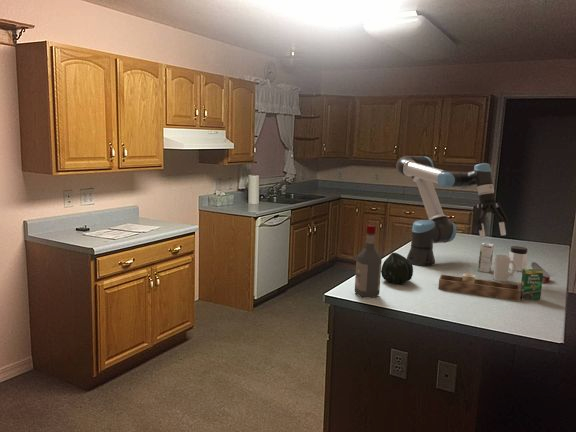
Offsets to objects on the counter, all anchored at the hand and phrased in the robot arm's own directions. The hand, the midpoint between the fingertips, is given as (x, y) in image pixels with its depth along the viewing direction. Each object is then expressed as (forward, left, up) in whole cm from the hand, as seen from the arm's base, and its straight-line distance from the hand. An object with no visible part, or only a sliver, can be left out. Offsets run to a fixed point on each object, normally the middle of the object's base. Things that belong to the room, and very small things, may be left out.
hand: (493, 236), depth 238 cm
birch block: (-9, -29, -19) cm, 36 cm away
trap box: (-4, -29, -21) cm, 36 cm away
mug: (+7, -2, -21) cm, 22 cm away
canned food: (+23, +8, -21) cm, 32 cm away
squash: (-40, -32, -21) cm, 56 cm away
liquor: (-48, -58, -21) cm, 79 cm away
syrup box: (-2, +13, -21) cm, 25 cm away
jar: (+14, +26, -21) cm, 36 cm away
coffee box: (+17, -28, -21) cm, 39 cm away
